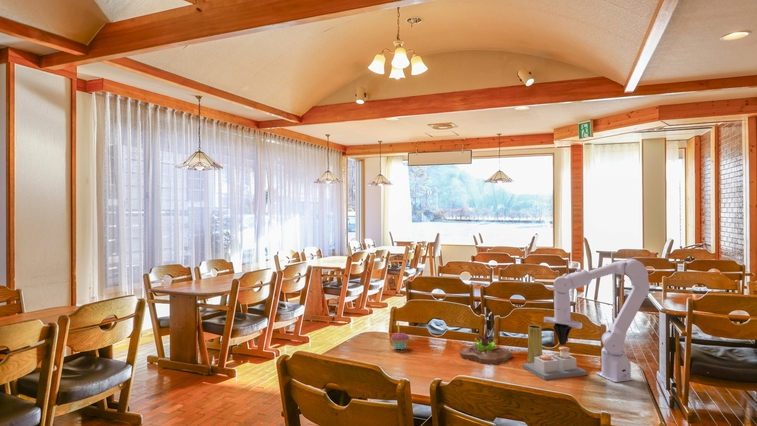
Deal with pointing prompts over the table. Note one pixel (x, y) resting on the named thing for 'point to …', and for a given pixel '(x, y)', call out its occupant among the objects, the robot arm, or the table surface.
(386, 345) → the table surface
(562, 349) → the knob
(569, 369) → the panel
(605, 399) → the table surface
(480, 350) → the plant
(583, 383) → the table surface
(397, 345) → the cupcake
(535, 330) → the vase
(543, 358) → the knob
